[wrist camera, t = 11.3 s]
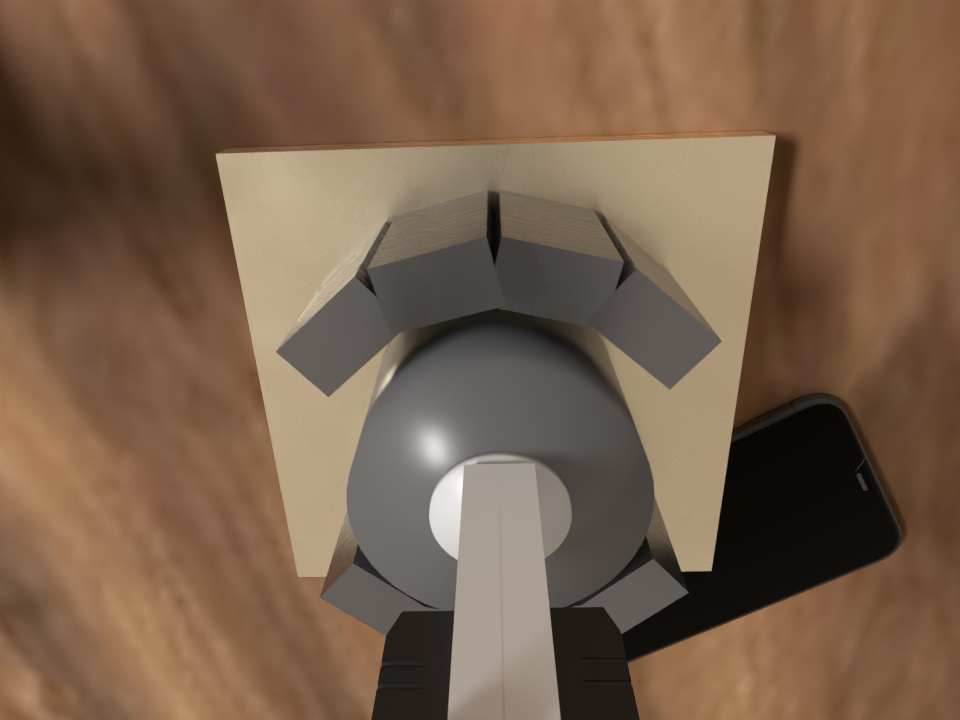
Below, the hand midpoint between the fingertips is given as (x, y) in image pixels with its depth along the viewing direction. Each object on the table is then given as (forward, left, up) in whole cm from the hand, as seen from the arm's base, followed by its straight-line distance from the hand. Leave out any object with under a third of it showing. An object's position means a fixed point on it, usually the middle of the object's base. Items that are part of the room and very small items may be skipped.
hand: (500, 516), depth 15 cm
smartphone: (+7, +6, -7) cm, 12 cm away
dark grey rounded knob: (0, 0, -6) cm, 6 cm away
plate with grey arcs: (0, 0, -7) cm, 7 cm away
